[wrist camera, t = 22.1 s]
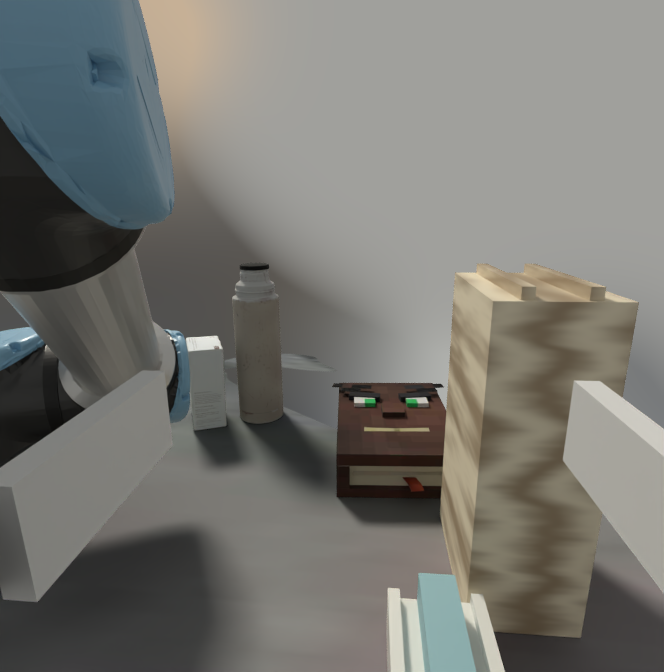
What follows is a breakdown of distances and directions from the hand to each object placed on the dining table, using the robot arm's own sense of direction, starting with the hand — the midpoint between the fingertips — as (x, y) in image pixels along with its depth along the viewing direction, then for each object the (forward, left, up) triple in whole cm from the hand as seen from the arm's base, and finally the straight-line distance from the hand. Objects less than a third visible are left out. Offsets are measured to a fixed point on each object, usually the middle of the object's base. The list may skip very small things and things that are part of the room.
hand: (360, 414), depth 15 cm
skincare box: (-29, +60, -30) cm, 73 cm away
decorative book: (+4, +52, -31) cm, 60 cm away
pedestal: (+14, +28, -30) cm, 43 cm away
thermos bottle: (-20, +63, -30) cm, 72 cm away
